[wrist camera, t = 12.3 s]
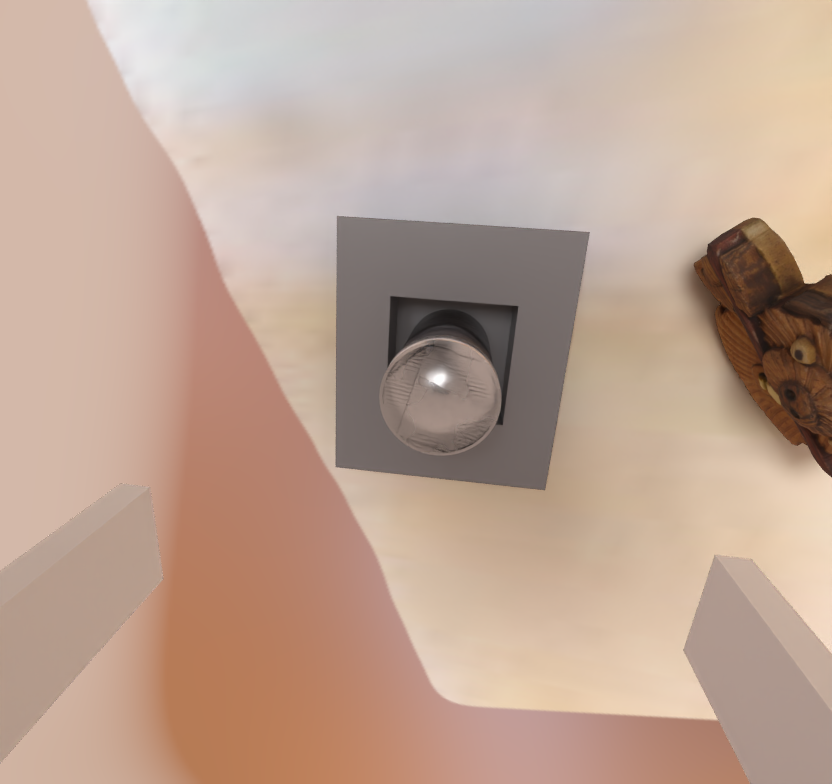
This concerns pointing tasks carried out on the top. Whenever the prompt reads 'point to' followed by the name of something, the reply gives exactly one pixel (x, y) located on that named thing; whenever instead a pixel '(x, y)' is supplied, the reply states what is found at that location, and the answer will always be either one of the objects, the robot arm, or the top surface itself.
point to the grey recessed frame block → (475, 295)
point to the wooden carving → (775, 331)
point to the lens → (442, 386)
